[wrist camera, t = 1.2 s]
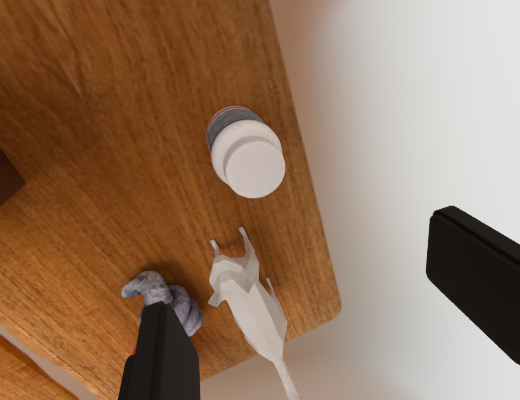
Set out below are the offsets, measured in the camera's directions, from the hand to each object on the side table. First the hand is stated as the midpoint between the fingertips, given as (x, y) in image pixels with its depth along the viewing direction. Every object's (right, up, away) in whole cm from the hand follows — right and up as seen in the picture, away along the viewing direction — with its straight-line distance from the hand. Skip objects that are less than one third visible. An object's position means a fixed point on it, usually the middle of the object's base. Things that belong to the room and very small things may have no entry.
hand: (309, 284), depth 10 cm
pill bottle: (-4, +9, +17) cm, 19 cm away
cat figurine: (-3, -5, +24) cm, 25 cm away
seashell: (-12, -7, +23) cm, 27 cm away
